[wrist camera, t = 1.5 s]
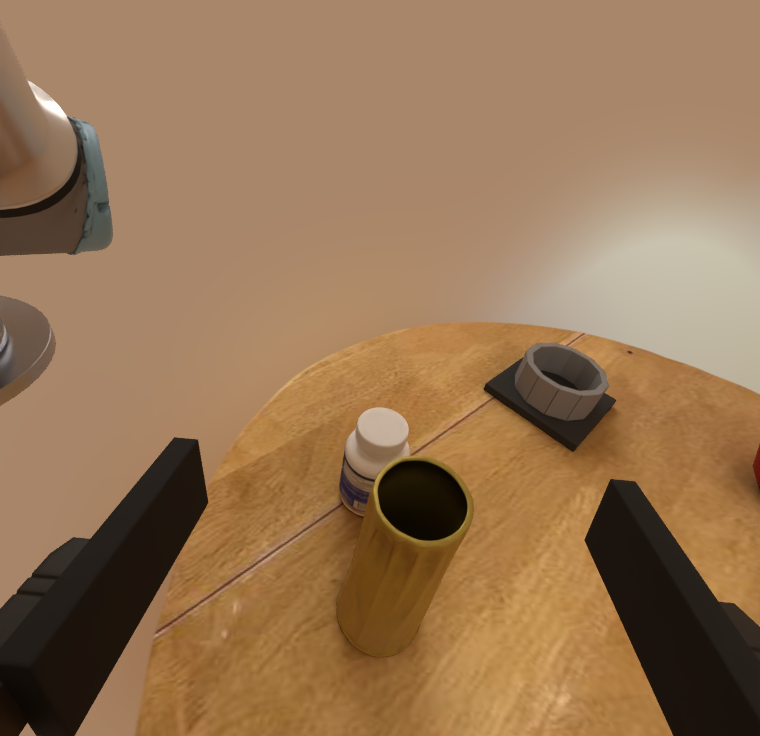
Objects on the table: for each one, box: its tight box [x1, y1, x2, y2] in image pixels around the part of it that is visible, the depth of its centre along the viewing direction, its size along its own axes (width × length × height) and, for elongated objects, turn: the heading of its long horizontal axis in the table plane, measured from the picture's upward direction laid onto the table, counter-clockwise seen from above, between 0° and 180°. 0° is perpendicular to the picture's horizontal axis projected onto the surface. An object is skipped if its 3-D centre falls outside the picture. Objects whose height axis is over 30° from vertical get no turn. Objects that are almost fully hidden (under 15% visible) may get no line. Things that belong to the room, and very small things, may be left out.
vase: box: [337, 456, 474, 657], centre depth 25 cm, size 6×6×14 cm
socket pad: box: [484, 343, 616, 451], centre depth 50 cm, size 12×12×5 cm
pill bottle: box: [339, 407, 410, 516], centre depth 34 cm, size 5×5×9 cm
